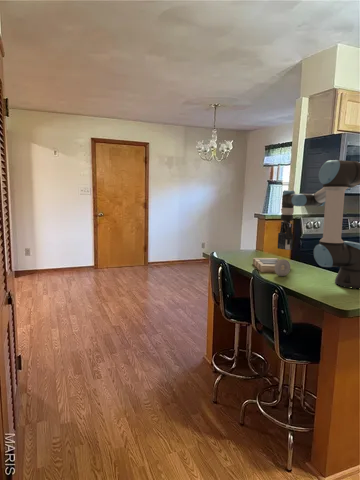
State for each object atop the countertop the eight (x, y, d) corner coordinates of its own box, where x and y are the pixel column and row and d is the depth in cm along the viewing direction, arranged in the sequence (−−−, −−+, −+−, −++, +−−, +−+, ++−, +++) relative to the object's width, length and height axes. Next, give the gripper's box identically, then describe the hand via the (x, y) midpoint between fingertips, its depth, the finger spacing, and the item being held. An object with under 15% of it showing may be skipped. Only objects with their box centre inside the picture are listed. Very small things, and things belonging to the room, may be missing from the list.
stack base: (287, 272, 196) (287, 265, 195) (261, 272, 195) (261, 265, 195) (276, 264, 216) (277, 257, 215) (252, 263, 215) (253, 257, 214)
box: (292, 249, 214) (293, 233, 213) (287, 250, 211) (288, 234, 209) (281, 247, 220) (283, 232, 219) (277, 248, 217) (278, 232, 215)
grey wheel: (287, 274, 191) (288, 258, 189) (291, 276, 188) (292, 259, 186) (272, 275, 188) (274, 259, 186) (276, 277, 185) (277, 260, 183)
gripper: (276, 212, 223) (273, 245, 226) (287, 215, 201) (284, 251, 204) (286, 213, 223) (284, 245, 226) (299, 215, 201) (296, 251, 205)
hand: (284, 248), depth 215 cm, fingers closed on box, 9 cm apart
